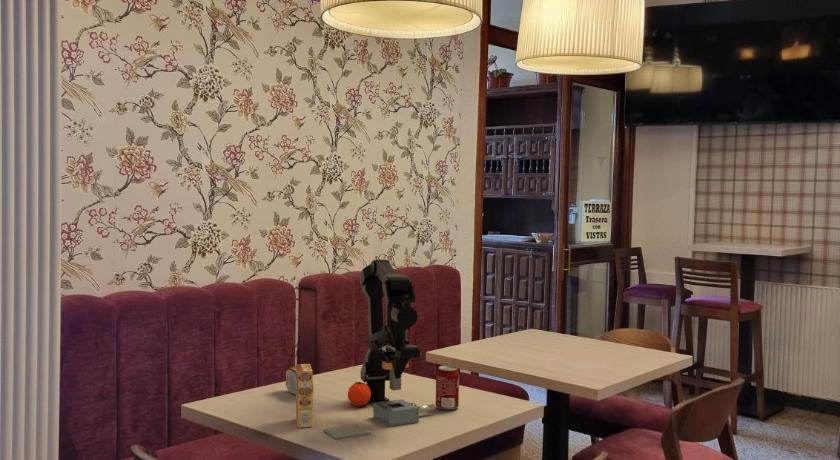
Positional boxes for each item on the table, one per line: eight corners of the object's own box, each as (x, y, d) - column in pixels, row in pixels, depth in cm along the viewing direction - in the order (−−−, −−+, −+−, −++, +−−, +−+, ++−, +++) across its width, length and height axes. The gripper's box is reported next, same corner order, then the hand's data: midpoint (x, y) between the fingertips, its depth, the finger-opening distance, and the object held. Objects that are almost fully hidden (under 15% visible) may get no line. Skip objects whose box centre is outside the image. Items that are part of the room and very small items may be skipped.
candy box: (313, 427, 214) (313, 370, 213) (297, 428, 213) (297, 371, 212) (310, 418, 222) (310, 363, 221) (294, 418, 221) (295, 364, 220)
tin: (314, 400, 241) (314, 373, 240) (304, 402, 239) (305, 374, 239) (292, 390, 253) (292, 363, 253) (283, 391, 251) (283, 364, 251)
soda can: (456, 412, 231) (457, 370, 230) (433, 410, 232) (434, 369, 232) (460, 406, 238) (460, 366, 237) (437, 404, 239) (438, 364, 238)
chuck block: (373, 417, 224) (373, 402, 224) (424, 410, 232) (425, 396, 232) (389, 426, 216) (389, 411, 215) (442, 418, 224) (442, 404, 224)
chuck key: (381, 389, 221) (382, 361, 221) (404, 386, 224) (405, 359, 224) (385, 391, 219) (386, 363, 218) (408, 388, 222) (408, 360, 222)
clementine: (343, 403, 239) (343, 379, 238) (365, 401, 241) (365, 377, 241) (351, 409, 231) (352, 385, 231) (374, 407, 234) (374, 383, 234)
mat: (323, 430, 211) (323, 429, 210) (357, 426, 215) (358, 424, 215) (335, 439, 204) (335, 437, 204) (370, 434, 208) (370, 432, 208)
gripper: (355, 318, 225) (355, 373, 226) (385, 329, 209) (384, 388, 209) (391, 315, 230) (390, 369, 231) (422, 326, 214) (421, 384, 215)
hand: (395, 377), depth 221 cm, fingers closed on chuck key, 2 cm apart
